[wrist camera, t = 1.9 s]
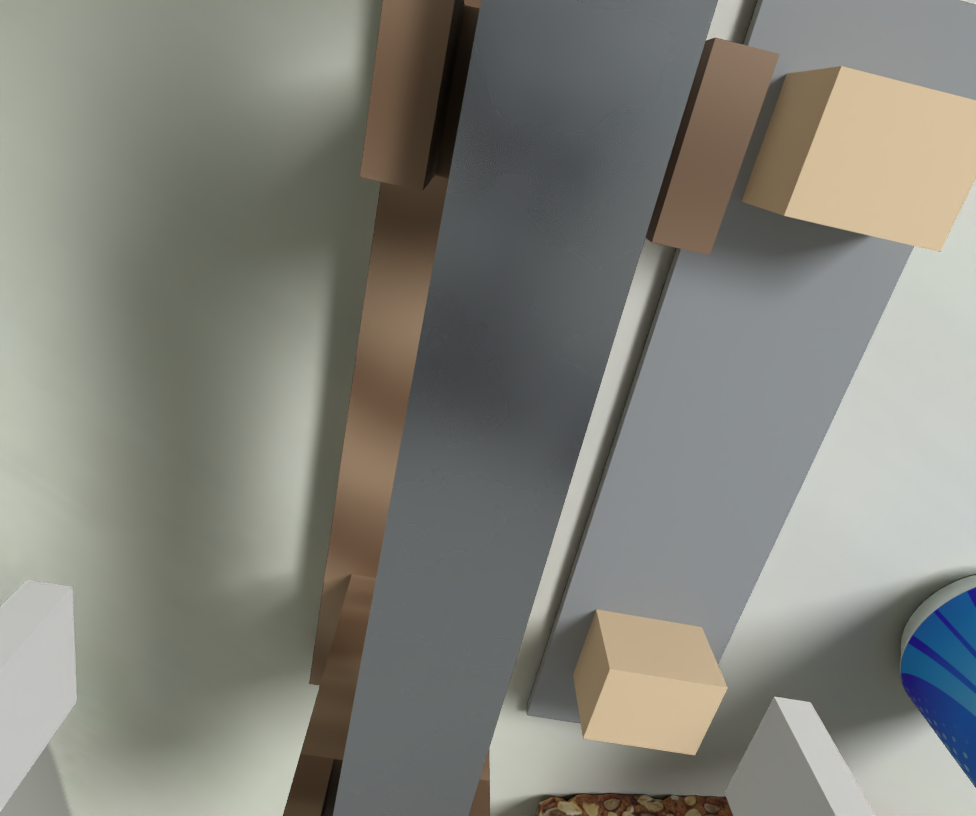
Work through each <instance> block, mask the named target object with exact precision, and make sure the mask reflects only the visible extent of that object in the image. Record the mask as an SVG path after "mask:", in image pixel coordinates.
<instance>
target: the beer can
mask: <svg viewBox="0 0 976 816" xmlns="http://www.w3.org/2000/svg"><path fill="white" fill-rule="evenodd" d="M900 677H901V681H902V684H903V687H904V689H905V691H906V693H907V694H908V696H909V697H910V699H911V700H912V701H913V703H914V704H915V706H916V707H917V708H918V710H919V711H920V712H921V714H922V715H923V716H924V718H925V719H926V721H927V722H928V723H929V725H930V726H931V727H932V729H933V730H934V731H935V733H936V734H937V736H938V737H939V738H940V740H941V741H942V742H943V744H944V745H945V746H946V748H947V749H948V751H949V752H950V753H951V755H952V756H953V757H954V759H955V760H956V761H957V763H958V764H959V766H960V767H961V768H962V770H963V771H964V772H965V774H966V775H967V776H968V778H969V779H970V781H971V782H972V783H973V785H974V786H975V787H976V575H973V576H969V577H966V578H963V579H960V580H958V581H955V582H953V583H951V584H949V585H947V586H945V587H943V588H941V589H940V590H938V591H937V592H935V593H934V594H932V595H931V596H930V597H928V598H927V599H926V600H925V601H924V602H923V603H922V604H921V605H920V606H919V607H918V608H917V609H916V610H915V611H914V613H913V614H912V616H911V617H910V618H909V620H908V622H907V624H906V626H905V628H904V631H903V634H902V639H901V660H900Z"/></svg>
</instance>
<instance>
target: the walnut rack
mask: <svg viewBox="0 0 976 816" xmlns="http://www.w3.org/2000/svg"><path fill="white" fill-rule="evenodd" d="M480 4H481V0H383V2H382V10H381V18H380V25H379V33H378V41H377V48H376V56H375V64H374V71H373V79H372V87H371V94H370V102H369V110H368V117H367V125H366V133H365V140H364V148H363V156H362V163H361V171H360V177H362V178H366V179H371V180H375V181H380V182H381V185H380V192H379V199H378V206H377V213H376V220H375V227H374V234H373V241H372V248H371V255H370V262H369V269H368V276H367V283H366V290H365V297H364V304H363V311H362V318H361V325H360V332H359V339H358V346H357V353H356V360H355V367H354V374H353V381H352V388H351V395H350V402H349V409H348V416H347V423H346V430H345V437H344V444H343V451H342V458H341V465H340V472H339V479H338V486H337V493H336V500H335V507H334V514H333V521H332V528H331V535H330V542H329V549H328V556H327V563H326V570H325V577H324V584H323V591H322V598H321V605H320V612H319V619H318V626H317V633H316V640H315V647H314V654H313V661H312V668H311V675H310V682H309V684H314V685H320V687H319V691H318V694H317V698H316V701H315V705H314V708H313V712H312V715H311V719H310V722H309V726H308V729H307V733H306V736H305V740H304V743H303V747H302V750H301V754H300V757H299V761H298V764H297V768H296V771H295V775H294V778H293V782H292V785H291V789H290V792H289V796H288V799H287V803H286V806H285V810H284V814H283V816H333V812H334V807H335V801H336V796H337V790H338V785H339V779H340V774H341V768H342V763H343V757H344V752H345V746H346V741H347V735H348V730H349V724H350V719H351V713H352V708H353V702H354V697H355V691H356V686H357V680H358V675H359V669H360V664H361V658H362V653H363V647H364V642H365V636H366V631H367V626H368V620H369V615H370V609H371V604H372V598H373V593H374V587H375V582H376V576H377V571H378V565H379V560H380V554H381V549H382V543H383V538H384V532H385V527H386V521H387V516H388V510H389V505H390V499H391V494H392V488H393V483H394V477H395V472H396V466H397V461H398V455H399V450H400V444H401V439H402V433H403V428H404V422H405V417H406V411H407V406H408V400H409V395H410V389H411V384H412V378H413V373H414V367H415V362H416V356H417V351H418V345H419V340H420V334H421V329H422V323H423V318H424V312H425V307H426V301H427V296H428V290H429V285H430V279H431V274H432V268H433V263H434V257H435V252H436V246H437V241H438V235H439V230H440V224H441V219H442V213H443V208H444V202H445V197H446V191H447V186H448V180H449V175H450V169H451V164H452V158H453V153H454V147H455V142H456V136H457V131H458V125H459V120H460V114H461V109H462V103H463V98H464V92H465V87H466V81H467V76H468V70H469V65H470V59H471V54H472V48H473V43H474V37H475V32H476V26H477V21H478V15H479V10H480ZM779 55H780V54H778V53H774V52H770V51H766V50H762V49H758V48H754V47H750V46H746V45H743V44H739V43H735V42H731V41H727V40H723V39H719V38H713V39H710V40H707V41H705V44H704V47H703V51H702V54H701V57H700V61H699V64H698V67H697V70H696V74H695V77H694V80H693V83H692V87H691V90H690V93H689V96H688V100H687V103H686V106H685V110H684V113H683V116H682V119H681V123H680V126H679V129H678V132H677V136H676V139H675V142H674V146H673V149H672V152H671V155H670V159H669V162H668V165H667V168H666V172H665V175H664V178H663V181H662V185H661V188H660V191H659V195H658V198H657V201H656V204H655V208H654V211H653V214H652V217H651V221H650V224H649V227H648V230H647V234H646V238H647V239H648V240H650V241H651V242H653V243H657V244H662V245H666V246H671V247H675V248H680V249H684V250H689V251H693V252H698V253H702V254H707V255H710V253H711V251H712V248H713V245H714V242H715V239H716V236H717V233H718V230H719V228H720V225H721V222H722V219H723V216H724V213H725V210H726V208H727V205H728V202H729V199H730V196H731V193H732V190H733V187H734V185H735V182H736V179H737V176H738V173H739V170H740V167H741V164H742V162H743V159H744V156H745V153H746V150H747V147H748V144H749V142H750V139H751V136H752V133H753V130H754V127H755V124H756V121H757V119H758V116H759V113H760V110H761V107H762V104H763V101H764V98H765V96H766V93H767V90H768V87H769V84H770V81H771V78H772V75H773V73H774V70H775V67H776V64H777V61H778V58H779ZM468 816H490V768H489V750H488V753H487V757H486V760H485V763H484V766H483V770H482V773H481V776H480V779H479V783H478V786H477V789H476V793H475V796H474V799H473V802H472V806H471V809H470V812H469V815H468Z"/></svg>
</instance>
